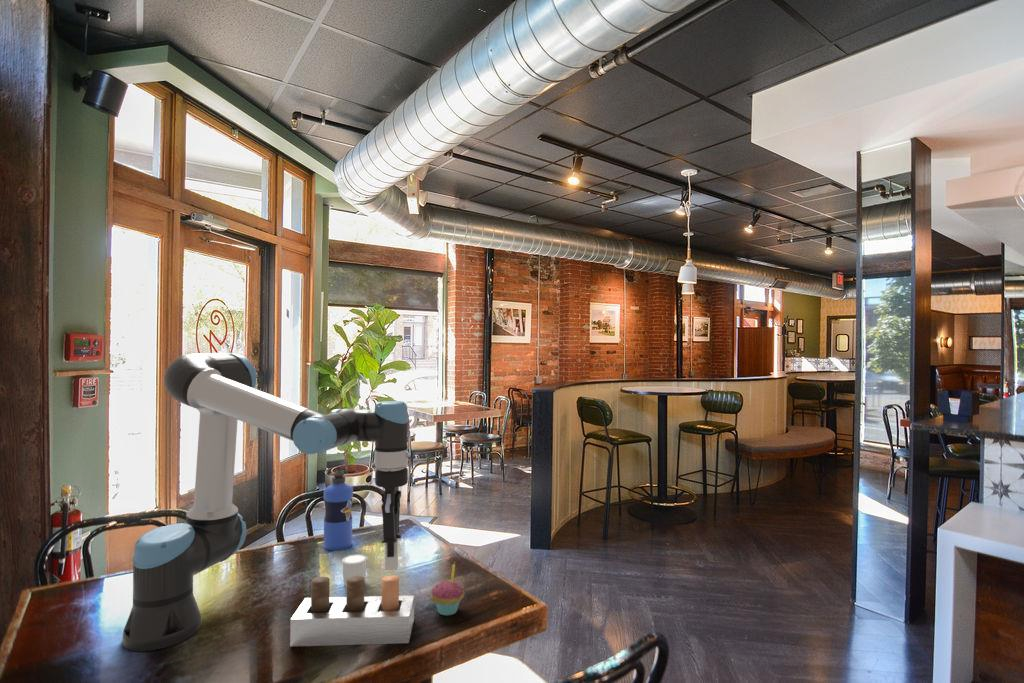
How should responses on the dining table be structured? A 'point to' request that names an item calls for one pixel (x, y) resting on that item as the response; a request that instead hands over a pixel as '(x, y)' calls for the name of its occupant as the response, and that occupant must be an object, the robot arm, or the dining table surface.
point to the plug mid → (355, 594)
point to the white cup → (354, 566)
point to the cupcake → (448, 595)
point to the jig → (352, 623)
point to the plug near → (320, 595)
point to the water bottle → (338, 513)
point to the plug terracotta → (390, 593)
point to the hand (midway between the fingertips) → (391, 568)
